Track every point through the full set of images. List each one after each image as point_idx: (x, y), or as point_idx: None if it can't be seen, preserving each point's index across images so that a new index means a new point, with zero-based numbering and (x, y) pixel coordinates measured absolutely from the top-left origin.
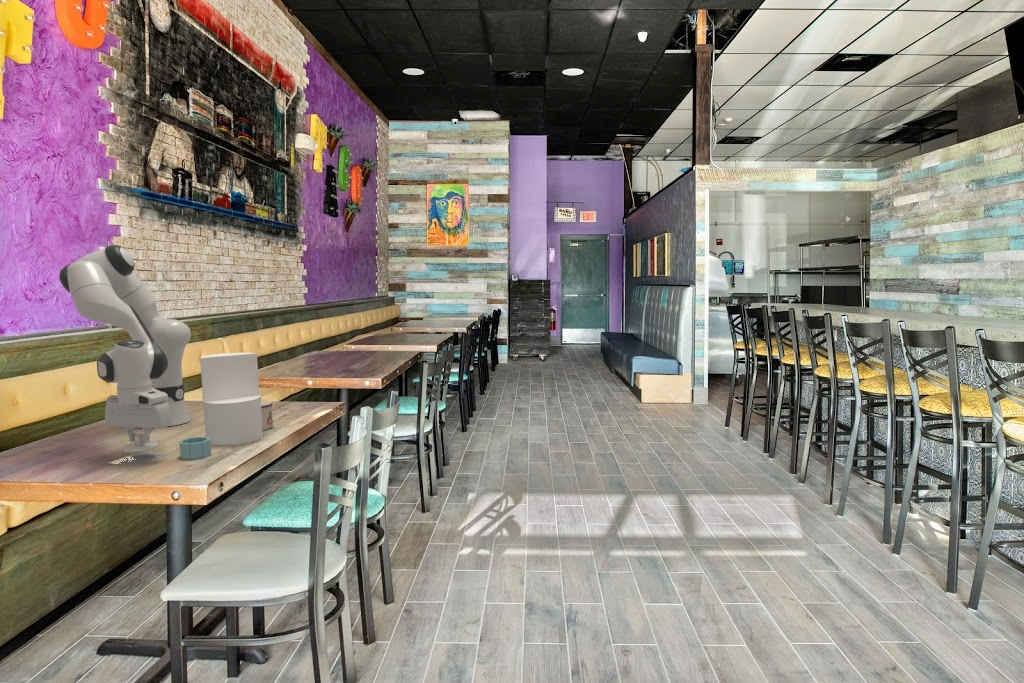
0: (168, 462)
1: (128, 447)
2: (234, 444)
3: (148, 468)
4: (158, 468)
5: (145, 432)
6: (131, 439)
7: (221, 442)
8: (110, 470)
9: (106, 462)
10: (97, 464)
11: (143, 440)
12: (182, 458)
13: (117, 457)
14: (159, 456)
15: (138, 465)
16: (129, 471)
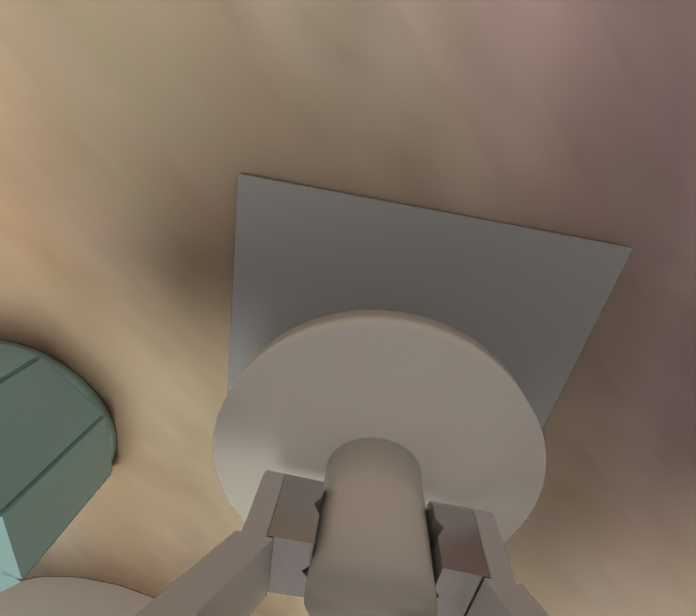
0: (94, 300)
1: (448, 405)
2: (11, 588)
3: (109, 128)
4: (22, 131)
5: (171, 603)
6: (464, 529)
7: (53, 602)
8: (441, 42)
9: (629, 309)
10: (692, 251)
11: (276, 489)
12: (25, 353)
13: (599, 430)
14: None
15: (241, 186)
16: (211, 12)
